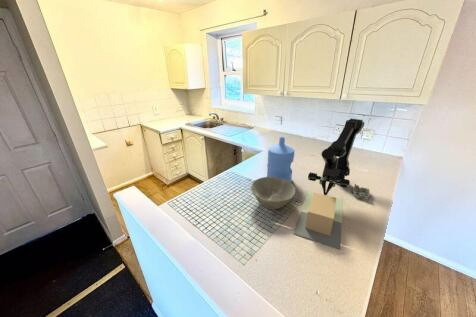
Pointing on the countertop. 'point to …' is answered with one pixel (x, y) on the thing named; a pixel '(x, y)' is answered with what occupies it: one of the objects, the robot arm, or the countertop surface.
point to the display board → (331, 240)
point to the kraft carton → (321, 213)
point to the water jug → (280, 161)
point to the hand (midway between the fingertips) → (324, 196)
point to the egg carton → (361, 192)
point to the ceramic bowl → (273, 192)
